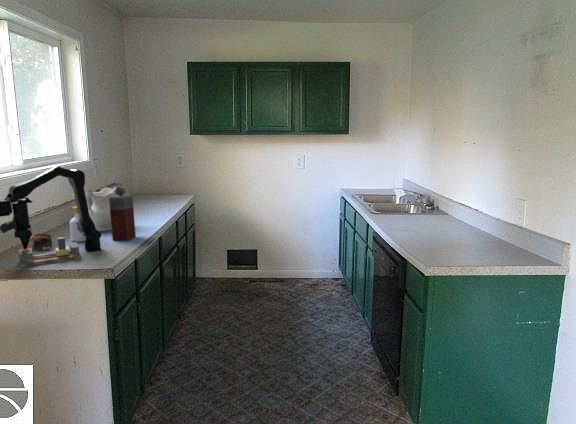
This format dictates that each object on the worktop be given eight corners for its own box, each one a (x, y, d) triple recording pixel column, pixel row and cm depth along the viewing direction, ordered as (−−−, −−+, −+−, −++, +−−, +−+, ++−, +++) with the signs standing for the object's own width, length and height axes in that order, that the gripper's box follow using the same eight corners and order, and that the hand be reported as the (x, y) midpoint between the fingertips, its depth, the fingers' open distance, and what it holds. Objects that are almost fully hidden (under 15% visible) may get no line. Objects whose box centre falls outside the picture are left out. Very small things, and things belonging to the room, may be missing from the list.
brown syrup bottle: (137, 235, 247) (133, 185, 241) (128, 240, 236) (124, 188, 230) (122, 235, 248) (117, 185, 242) (112, 240, 237) (107, 188, 231)
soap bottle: (69, 239, 240) (64, 194, 235) (87, 236, 246) (82, 192, 241) (73, 242, 233) (69, 196, 229) (92, 239, 239) (87, 194, 234)
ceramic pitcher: (107, 236, 251) (106, 192, 246) (76, 232, 255) (75, 188, 250) (128, 227, 272) (128, 187, 267) (99, 224, 275) (98, 184, 270)
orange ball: (28, 252, 200) (28, 247, 199) (29, 254, 198) (28, 248, 197) (22, 253, 198) (22, 248, 198) (22, 255, 196) (22, 249, 196)
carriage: (68, 252, 209) (66, 236, 208) (69, 254, 205) (67, 238, 203) (56, 253, 207) (54, 237, 205) (57, 256, 202) (55, 239, 201)
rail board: (78, 252, 214) (77, 241, 213) (81, 258, 205) (80, 247, 204) (20, 261, 202) (18, 249, 201) (20, 267, 193) (19, 255, 192)
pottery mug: (26, 250, 221) (29, 234, 224) (44, 254, 229) (46, 239, 232) (41, 247, 216) (44, 230, 219) (59, 251, 224) (61, 235, 227)
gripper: (-1, 212, 198) (4, 246, 201) (-2, 219, 183) (3, 256, 186) (28, 209, 204) (32, 243, 207) (29, 216, 188) (34, 252, 191)
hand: (25, 248), depth 198 cm, fingers closed, pressing on orange ball
